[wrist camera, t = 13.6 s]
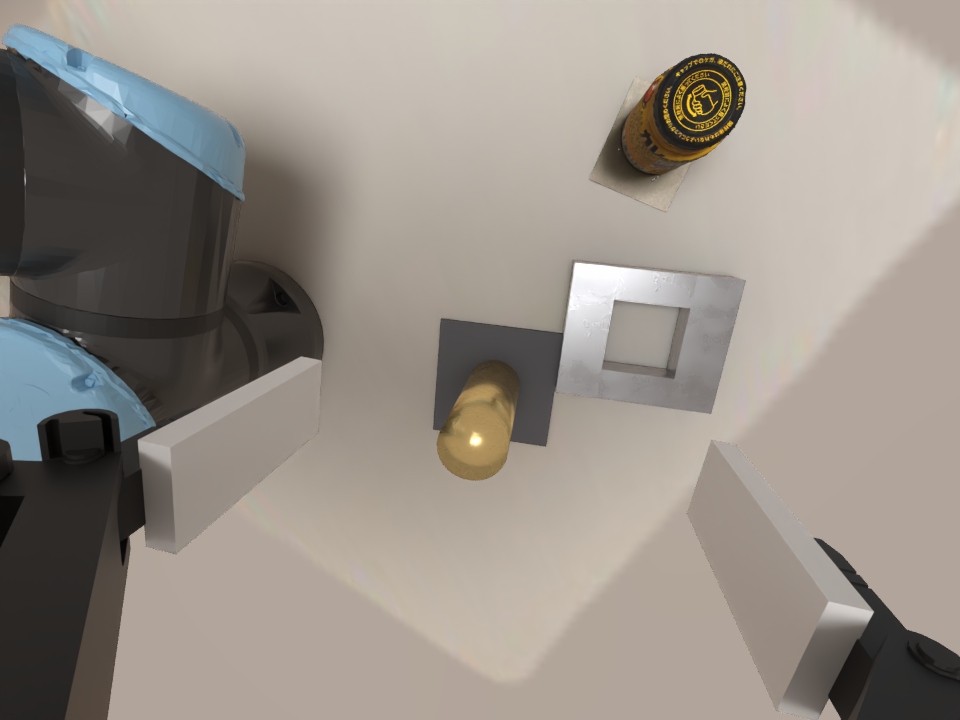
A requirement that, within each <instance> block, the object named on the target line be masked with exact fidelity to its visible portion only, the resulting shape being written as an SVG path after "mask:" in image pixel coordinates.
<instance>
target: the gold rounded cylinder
mask: <svg viewBox="0 0 960 720" xmlns="http://www.w3.org/2000/svg"><path fill="white" fill-rule="evenodd" d="M519 390H520V381H519V377H518V375H517V373H516V372H515V370H514V369H513V368H512V367H511V366H510V365H508V364H507V363H504V362H502V361H498V360H489V361H485V362H483V363H481V364H479V365H478V366H476V367H475V369H474V370H473V371H472V373H471V375H470V377H469V378H468V380H467V382H466V384H465V386H464V388H463V390H462V392H461V394H460V395H459V397H458V399H457V401H456V403H455V405H454V407H453V409H452V411H451V412H450V414H449V416H448V418H447V420H446V422H445V424H444V426H443V427H442V429H441V431H440V433H439V436H438V439H437V451H438V455H439V458H440V460H441V461H442V463H443V465H444V466H445V467H446V468H447V469H448V470H449V471H450V472H451V473H453V474H454V475H456V476H458V477H460V478H463V479H467V480H483V479H487V478H489V477H491V476H493V475H495V474H496V473H497V472H498V471H499V470H500V469H501V468H502V467H503V465H504V463H505V461H506V459H507V454H508V448H509V443H510V438H511V432H512V427H513V422H514V416H515V411H516V406H517V400H518V395H519Z"/></svg>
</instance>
